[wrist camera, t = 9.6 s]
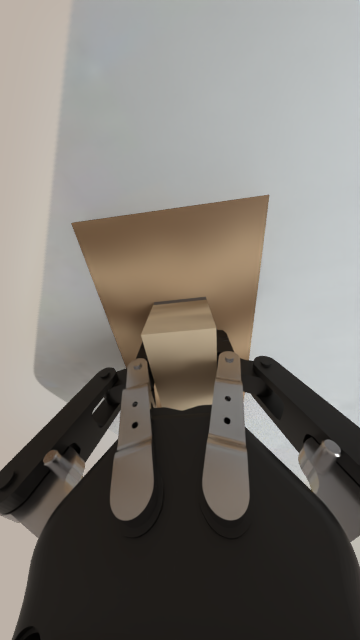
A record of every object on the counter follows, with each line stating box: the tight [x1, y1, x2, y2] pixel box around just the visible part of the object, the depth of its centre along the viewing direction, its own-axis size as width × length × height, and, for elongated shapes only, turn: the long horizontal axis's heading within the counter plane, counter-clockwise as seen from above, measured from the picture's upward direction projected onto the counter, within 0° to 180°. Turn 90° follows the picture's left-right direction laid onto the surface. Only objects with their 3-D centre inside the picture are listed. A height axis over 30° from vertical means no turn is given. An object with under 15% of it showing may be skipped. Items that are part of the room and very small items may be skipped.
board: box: [71, 195, 269, 408], centre depth 16 cm, size 26×12×2 cm, turn 7°
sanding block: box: [141, 297, 217, 410], centre depth 12 cm, size 7×4×4 cm, turn 7°
